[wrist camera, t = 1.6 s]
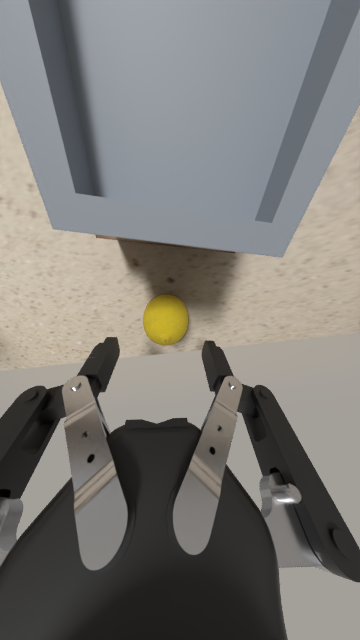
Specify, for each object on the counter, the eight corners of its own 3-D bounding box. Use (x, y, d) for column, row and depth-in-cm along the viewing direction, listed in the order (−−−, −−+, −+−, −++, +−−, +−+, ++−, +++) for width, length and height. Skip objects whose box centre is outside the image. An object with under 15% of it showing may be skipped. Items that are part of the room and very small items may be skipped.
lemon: (167, 324, 22) (165, 365, 16) (140, 302, 19) (124, 340, 13) (193, 304, 20) (203, 341, 14) (167, 276, 18) (164, 306, 11)
